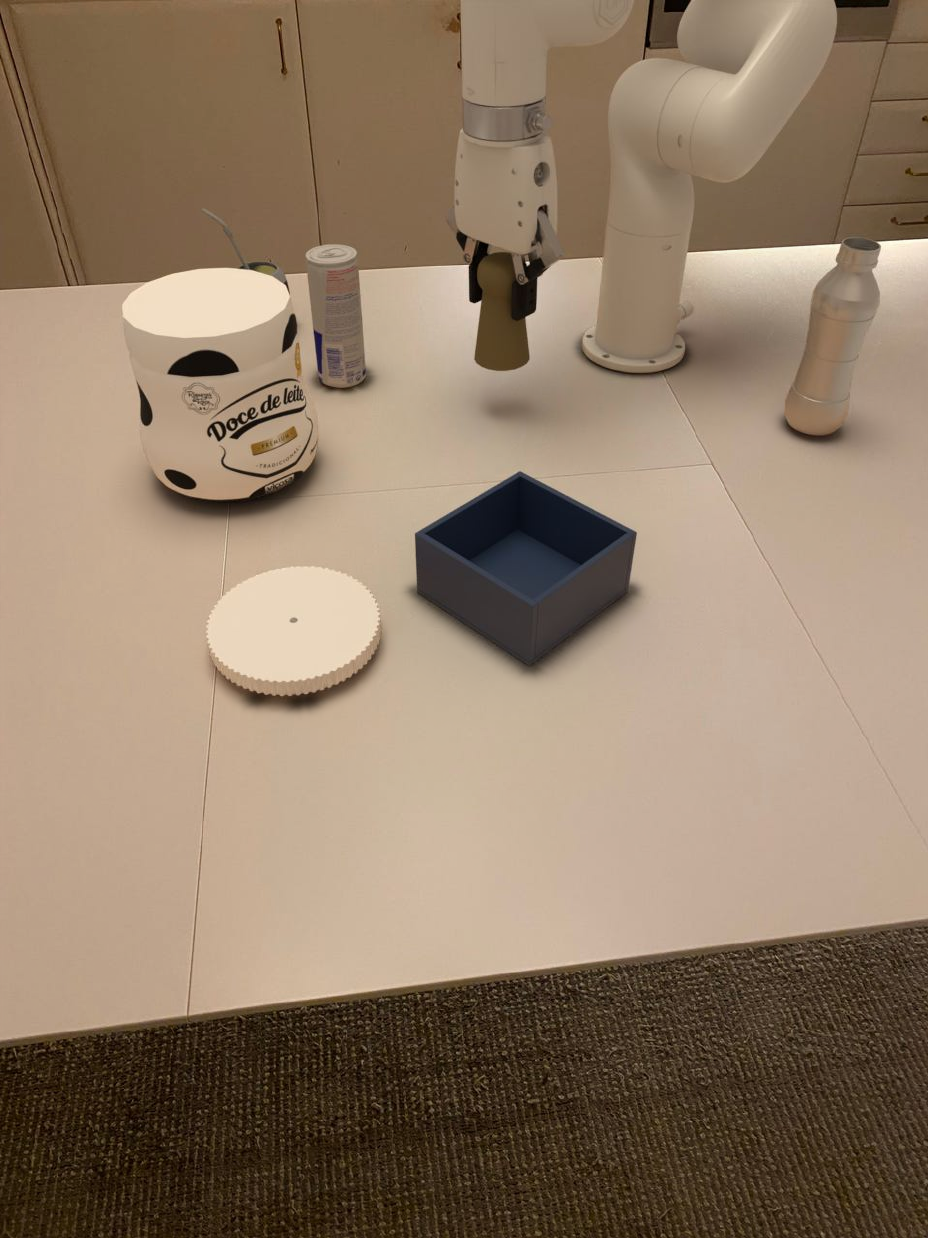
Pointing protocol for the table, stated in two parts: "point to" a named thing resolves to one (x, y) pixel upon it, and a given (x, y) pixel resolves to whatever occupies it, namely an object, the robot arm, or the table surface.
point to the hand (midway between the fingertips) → (502, 305)
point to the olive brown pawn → (499, 317)
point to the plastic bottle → (834, 339)
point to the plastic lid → (293, 630)
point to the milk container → (220, 383)
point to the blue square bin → (524, 565)
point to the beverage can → (336, 314)
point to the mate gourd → (257, 266)
